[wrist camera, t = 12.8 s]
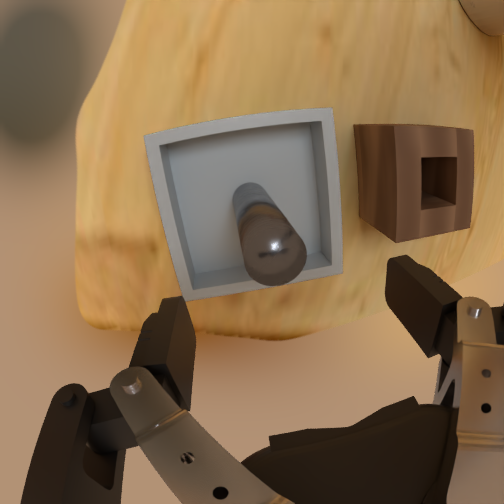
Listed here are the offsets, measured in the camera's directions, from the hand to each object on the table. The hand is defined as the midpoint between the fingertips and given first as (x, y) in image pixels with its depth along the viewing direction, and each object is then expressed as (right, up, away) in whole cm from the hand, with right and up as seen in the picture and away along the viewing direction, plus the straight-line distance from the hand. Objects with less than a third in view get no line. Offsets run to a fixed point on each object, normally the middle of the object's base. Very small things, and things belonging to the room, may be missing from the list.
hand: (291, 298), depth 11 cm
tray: (-2, +7, +15) cm, 16 cm away
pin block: (+13, +10, +15) cm, 22 cm away
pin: (-2, +6, +14) cm, 15 cm away
